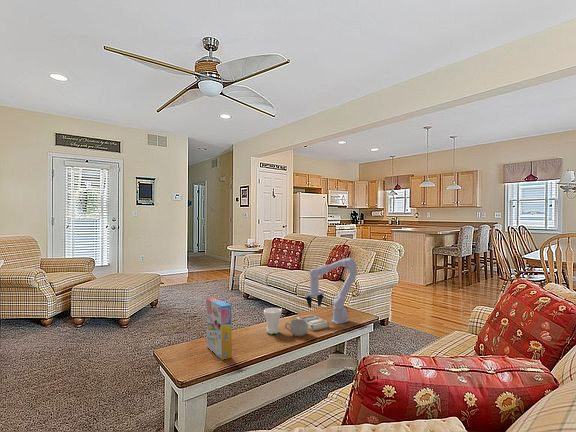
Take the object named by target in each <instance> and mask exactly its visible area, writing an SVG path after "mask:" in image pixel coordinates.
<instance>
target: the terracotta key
mask: <svg viewBox="0 0 576 432" xmlns="http://www.w3.org/2000/svg"><path fill="white" fill-rule="evenodd" d="M314 316H315V315H314V314H312V313H308V314H305V315H300V316H298V317H299V318H300V319H305V318H310V317H314Z"/></svg>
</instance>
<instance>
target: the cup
mask: <svg viewBox="0 0 576 432" xmlns="http://www.w3.org/2000/svg"><path fill="white" fill-rule="evenodd" d="M282 311H283V310H282V308H280V307H267V308H264V310H263V316H264V318H265V321H266V334H267V335H270V336H273V335H276V336H277V335H278V334H279V332H280V327H279V325H280V319H281V316H282V314H283V313H282Z"/></svg>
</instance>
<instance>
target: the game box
mask: <svg viewBox="0 0 576 432" xmlns="http://www.w3.org/2000/svg"><path fill="white" fill-rule="evenodd" d="M205 305H206V306H205V307H206V309H205V310H206V313H205V314H206V315H205V316H206V348H207V347H208V348H209V349H210V350H209V349H208V348H207V349H208V350H209V351H210V352H212V351H213V352H214V353H215V354H216V355H215V354H214V353H213V352H212V353H213V354H214V355H215V356H217V357H218V358H219V359H220V360H221V361H225V360H228V359H231V358H232V357H233V354H232V352H233V351H232V347H233V345H232V344H233V343H232V342H233V341H232V304H230V303H228V302H225V301H223V300H221V299H219V298H217V297H208V298H206V299H205ZM224 359H225V360H224Z"/></svg>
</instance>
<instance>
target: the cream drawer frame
mask: <svg viewBox="0 0 576 432" xmlns="http://www.w3.org/2000/svg"><path fill="white" fill-rule="evenodd" d="M315 316H316V315H314V317H315ZM295 319H300V318H299V316H297V317H295ZM319 319H322V318H320V317H319ZM303 320H304V319H303ZM329 327H330V322H329V321H328V320H325V322H323V323H318V324H313V325H312V324H310V323H309V322H308V330H309V331H311V332H314V331H315V332H316V331H319V330H325V329H328V328H329Z"/></svg>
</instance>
